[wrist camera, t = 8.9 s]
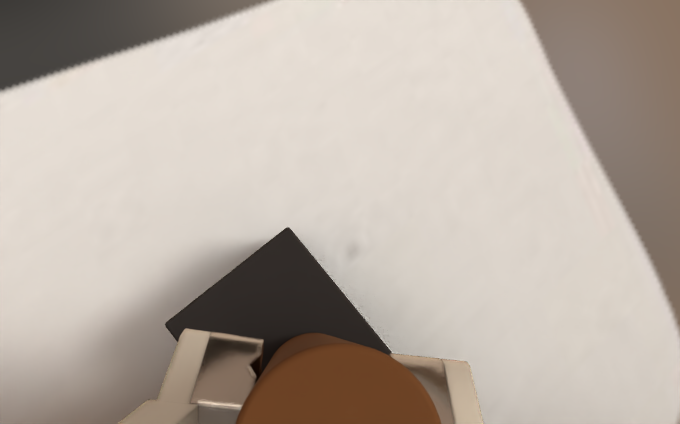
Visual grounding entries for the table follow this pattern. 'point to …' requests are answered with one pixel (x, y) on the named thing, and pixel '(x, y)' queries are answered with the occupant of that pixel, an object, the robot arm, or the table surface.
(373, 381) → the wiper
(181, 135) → the table surface
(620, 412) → the table surface
